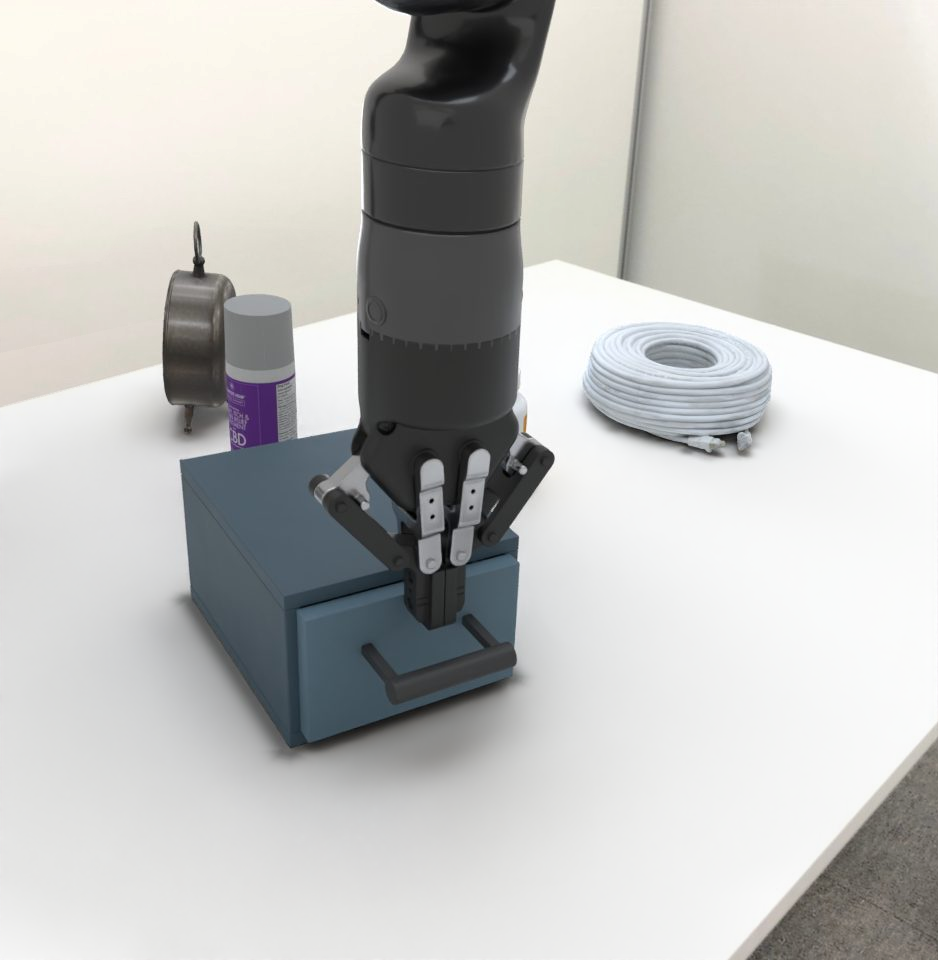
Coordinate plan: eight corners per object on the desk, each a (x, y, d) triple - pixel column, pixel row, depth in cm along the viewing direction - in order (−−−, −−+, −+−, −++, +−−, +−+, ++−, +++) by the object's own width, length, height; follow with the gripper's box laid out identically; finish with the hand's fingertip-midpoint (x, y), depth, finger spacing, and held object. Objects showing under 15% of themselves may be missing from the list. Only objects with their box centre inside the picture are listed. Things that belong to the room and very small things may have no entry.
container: (221, 504, 87) (207, 308, 80) (254, 477, 91) (244, 289, 84) (279, 517, 86) (271, 320, 79) (310, 489, 90) (305, 300, 83)
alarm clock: (185, 385, 104) (170, 202, 97) (249, 386, 106) (240, 205, 98) (164, 439, 95) (146, 241, 88) (235, 440, 96) (223, 244, 89)
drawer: (555, 720, 67) (565, 604, 64) (345, 797, 60) (343, 670, 57) (397, 553, 82) (398, 450, 78) (211, 600, 75) (203, 488, 71)
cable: (748, 464, 102) (758, 399, 99) (554, 424, 105) (559, 360, 102) (780, 392, 117) (789, 334, 114) (610, 359, 120) (615, 301, 118)
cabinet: (510, 675, 72) (519, 536, 68) (290, 748, 65) (283, 596, 60) (389, 547, 84) (390, 421, 80) (190, 596, 76) (179, 459, 72)
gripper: (521, 270, 61) (506, 557, 69) (270, 299, 54) (285, 617, 62) (603, 317, 56) (576, 622, 64) (338, 357, 49) (345, 696, 57)
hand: (433, 619), depth 63 cm, fingers closed
